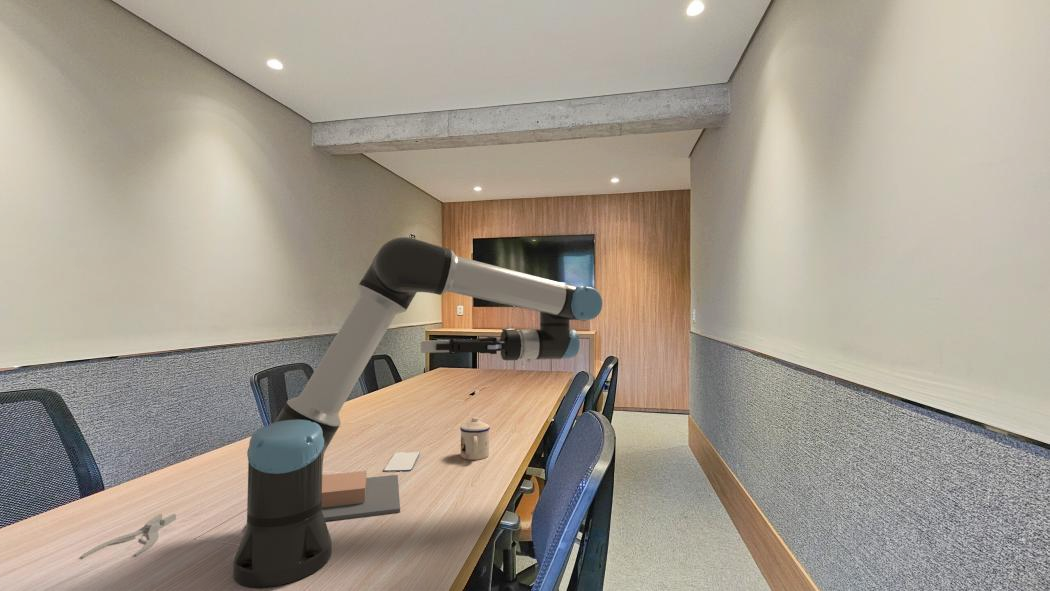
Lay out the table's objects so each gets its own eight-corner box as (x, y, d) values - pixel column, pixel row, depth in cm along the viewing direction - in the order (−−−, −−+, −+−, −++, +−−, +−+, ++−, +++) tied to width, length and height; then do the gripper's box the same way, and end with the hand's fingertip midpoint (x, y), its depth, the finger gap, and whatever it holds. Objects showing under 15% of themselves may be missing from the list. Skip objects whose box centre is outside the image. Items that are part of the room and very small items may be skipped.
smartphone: (411, 473, 125) (420, 454, 141) (411, 469, 125) (420, 451, 141) (382, 474, 125) (394, 455, 141) (382, 470, 125) (394, 452, 141)
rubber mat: (400, 512, 99) (400, 508, 99) (245, 531, 90) (245, 527, 90) (397, 477, 120) (397, 474, 120) (271, 490, 111) (271, 487, 111)
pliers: (79, 551, 80) (143, 514, 95) (78, 560, 80) (143, 522, 95) (138, 549, 81) (192, 512, 96) (137, 558, 81) (192, 520, 96)
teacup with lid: (460, 452, 143) (460, 414, 143) (488, 450, 144) (489, 414, 145) (459, 464, 131) (459, 423, 132) (490, 463, 132) (491, 422, 133)
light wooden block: (364, 488, 102) (275, 497, 97) (364, 503, 102) (275, 514, 97) (366, 470, 114) (287, 478, 108) (366, 484, 113) (286, 492, 108)
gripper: (526, 362, 106) (423, 365, 99) (511, 357, 118) (418, 360, 111) (526, 330, 106) (423, 331, 99) (511, 328, 118) (419, 329, 111)
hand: (421, 346), depth 105 cm, fingers closed
